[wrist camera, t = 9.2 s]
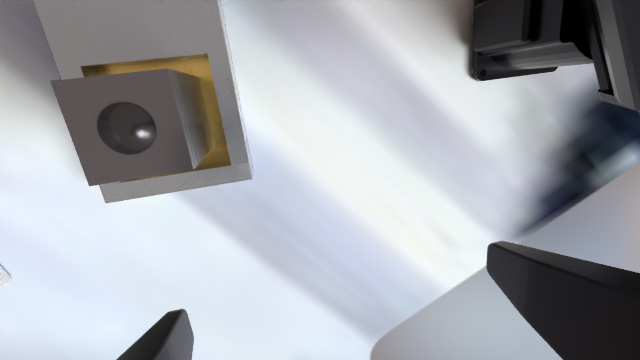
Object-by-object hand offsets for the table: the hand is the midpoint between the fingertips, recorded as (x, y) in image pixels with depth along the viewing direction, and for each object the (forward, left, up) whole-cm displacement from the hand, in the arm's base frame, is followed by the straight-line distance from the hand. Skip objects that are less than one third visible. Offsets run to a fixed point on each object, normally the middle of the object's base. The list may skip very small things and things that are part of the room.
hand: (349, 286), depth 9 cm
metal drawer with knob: (+7, -5, -12) cm, 14 cm away
